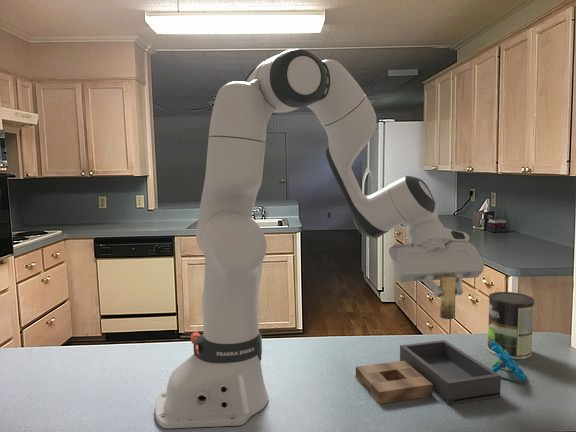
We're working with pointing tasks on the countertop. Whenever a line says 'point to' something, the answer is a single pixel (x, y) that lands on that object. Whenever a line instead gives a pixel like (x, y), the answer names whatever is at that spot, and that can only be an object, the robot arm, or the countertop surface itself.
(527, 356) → the coffee can
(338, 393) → the countertop surface
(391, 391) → the block
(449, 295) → the pin
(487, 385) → the tray
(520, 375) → the blue notched toy part
